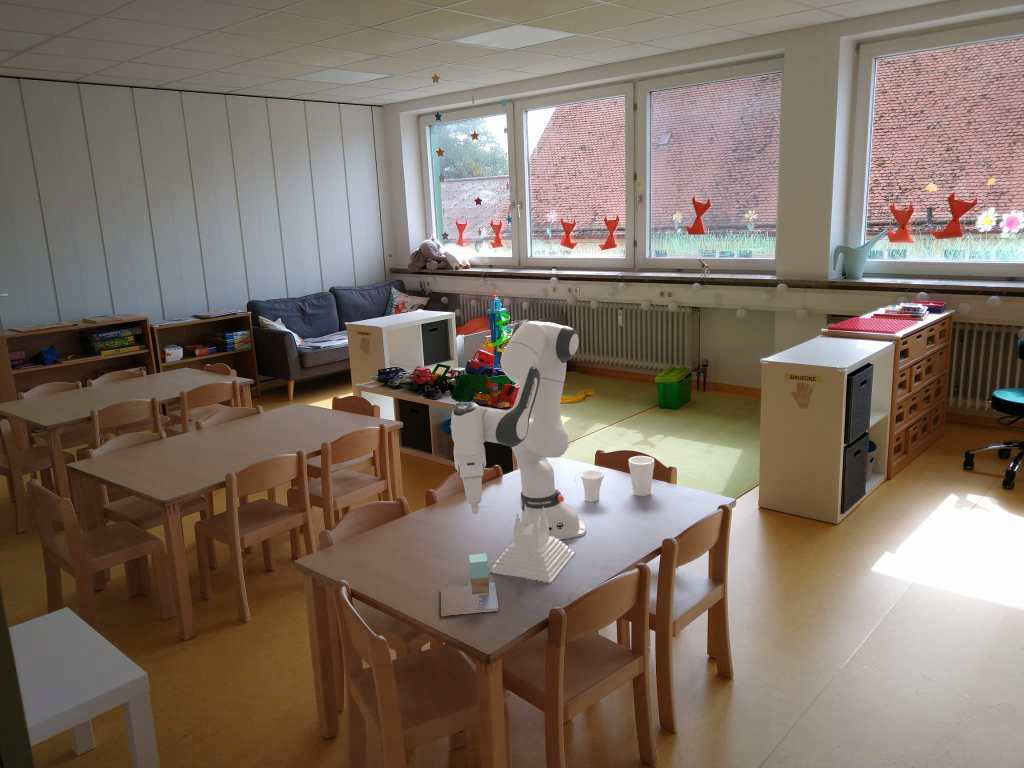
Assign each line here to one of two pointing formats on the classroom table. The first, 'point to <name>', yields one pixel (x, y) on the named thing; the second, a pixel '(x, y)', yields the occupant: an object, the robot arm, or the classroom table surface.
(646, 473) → the foam cup
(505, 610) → the classroom table surface
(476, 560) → the teal cube
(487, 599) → the building board
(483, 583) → the walnut cube
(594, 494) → the cup
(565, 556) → the castle model
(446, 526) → the classroom table surface
